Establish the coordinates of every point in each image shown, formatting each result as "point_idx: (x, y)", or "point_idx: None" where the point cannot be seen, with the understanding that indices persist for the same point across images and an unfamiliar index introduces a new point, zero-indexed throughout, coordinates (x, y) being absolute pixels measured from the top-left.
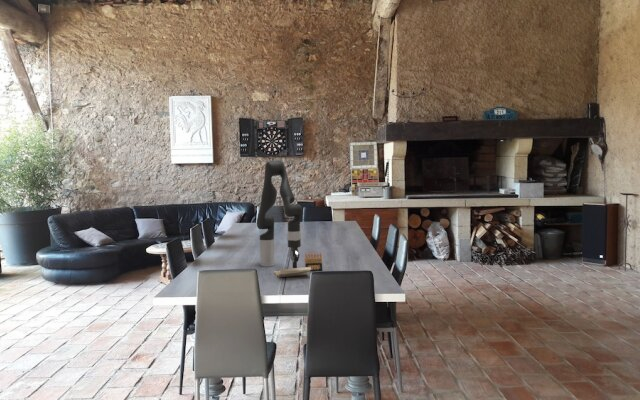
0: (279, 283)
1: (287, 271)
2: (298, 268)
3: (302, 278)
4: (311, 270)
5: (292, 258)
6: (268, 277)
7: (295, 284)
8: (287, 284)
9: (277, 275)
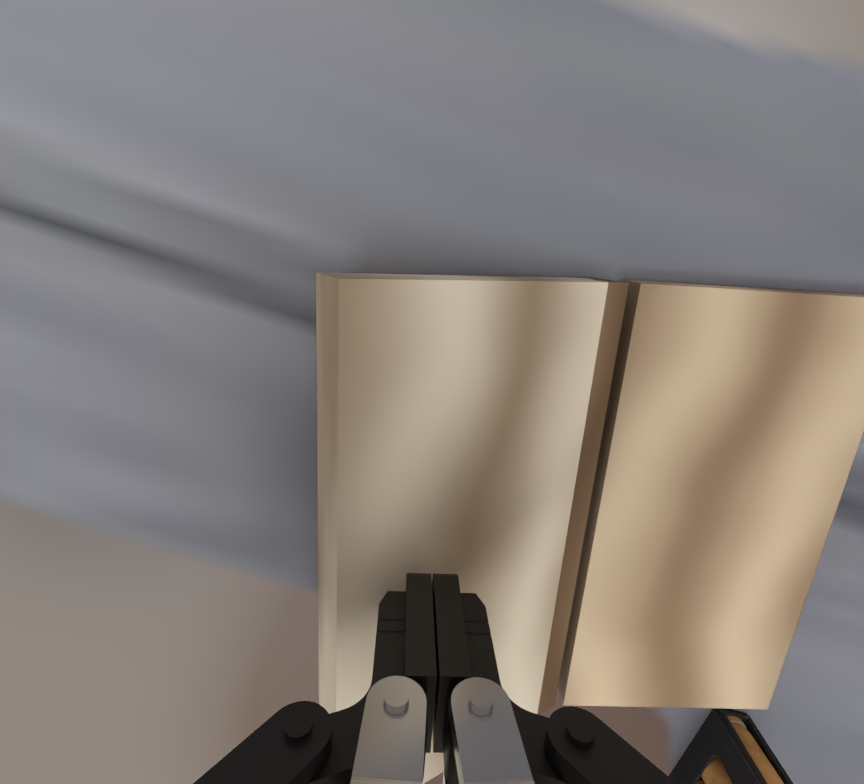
0: (186, 175)
1: (321, 413)
2: (332, 645)
3: None
4: (683, 774)
5: (460, 779)
6: (696, 127)
7: (48, 391)
8: (79, 280)
9: (634, 285)
